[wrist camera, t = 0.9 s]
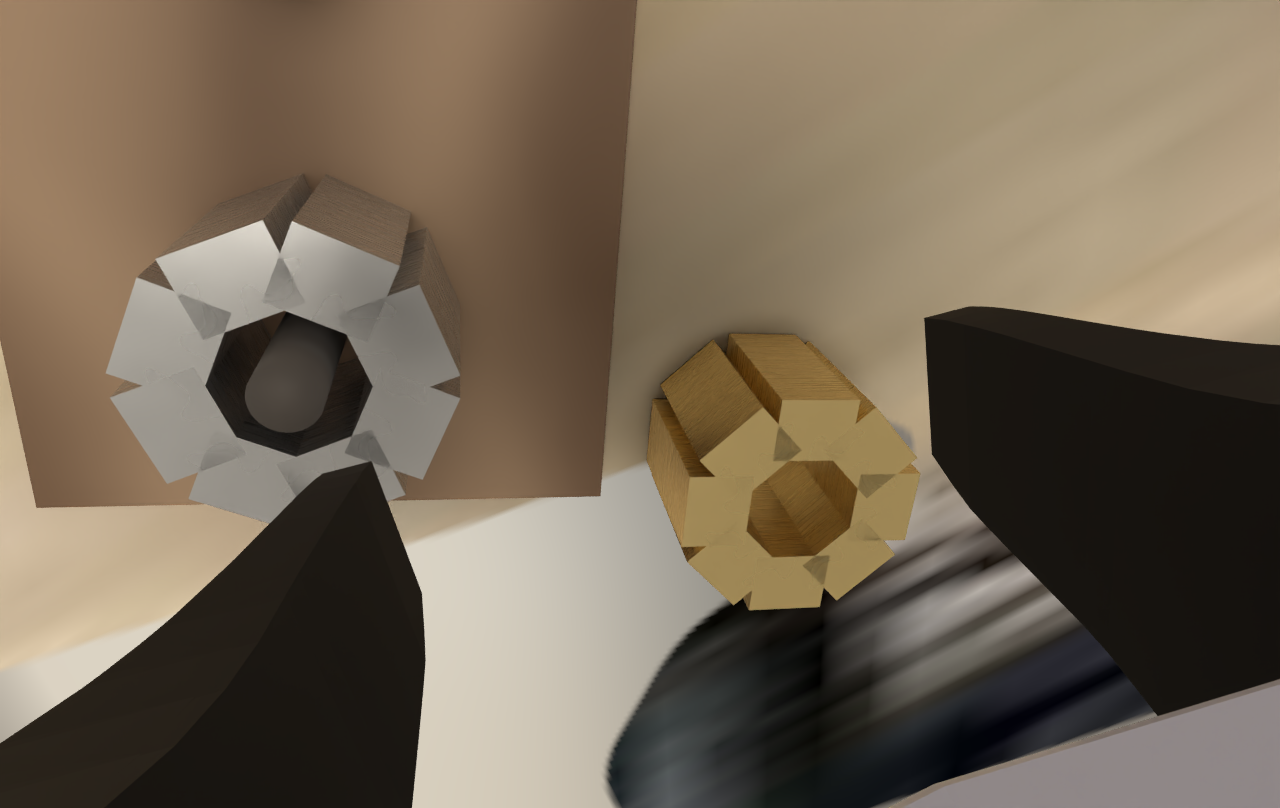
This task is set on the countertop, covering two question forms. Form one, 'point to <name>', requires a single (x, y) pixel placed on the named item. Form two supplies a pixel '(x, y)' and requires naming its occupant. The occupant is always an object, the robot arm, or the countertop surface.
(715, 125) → the countertop surface
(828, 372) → the brass gear
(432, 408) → the steel gear
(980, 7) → the countertop surface
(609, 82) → the gear board
